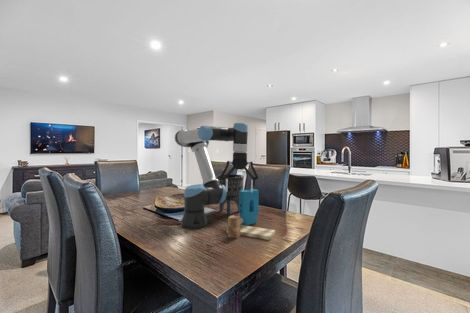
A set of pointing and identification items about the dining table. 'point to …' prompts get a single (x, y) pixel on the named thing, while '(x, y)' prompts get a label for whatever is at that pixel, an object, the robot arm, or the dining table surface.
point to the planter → (231, 190)
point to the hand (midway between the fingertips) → (239, 191)
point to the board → (256, 232)
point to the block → (249, 206)
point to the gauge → (234, 226)
